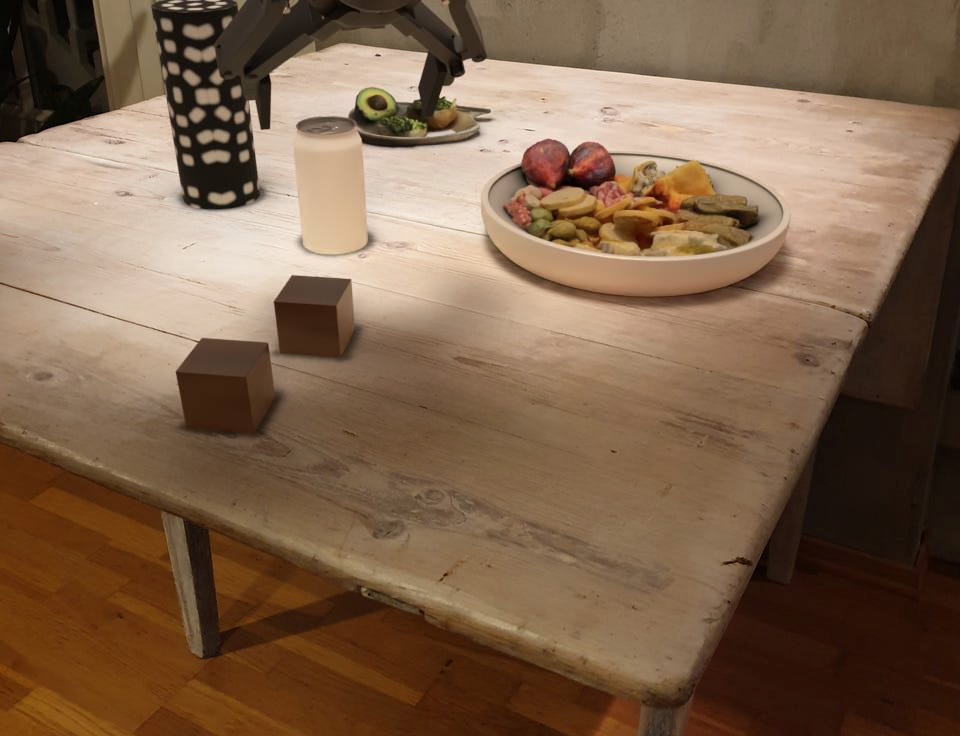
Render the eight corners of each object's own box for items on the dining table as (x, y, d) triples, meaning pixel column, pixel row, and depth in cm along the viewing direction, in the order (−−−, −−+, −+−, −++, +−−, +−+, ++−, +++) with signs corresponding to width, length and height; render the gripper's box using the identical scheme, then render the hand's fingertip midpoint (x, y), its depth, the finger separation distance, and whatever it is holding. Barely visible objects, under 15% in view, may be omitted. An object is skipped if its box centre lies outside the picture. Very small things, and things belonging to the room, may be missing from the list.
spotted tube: (225, 218, 103) (196, 15, 91) (167, 203, 106) (132, 6, 95) (275, 195, 109) (254, 2, 97) (219, 182, 112) (193, -6, 101)
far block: (297, 329, 82) (291, 274, 79) (355, 333, 81) (351, 278, 79) (280, 357, 78) (273, 301, 75) (340, 362, 77) (336, 305, 75)
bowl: (838, 248, 98) (856, 172, 93) (657, 345, 80) (669, 257, 76) (608, 175, 115) (614, 108, 111) (419, 242, 98) (417, 165, 93)
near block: (211, 396, 73) (201, 337, 70) (275, 401, 72) (268, 342, 70) (186, 432, 69) (175, 371, 66) (254, 438, 68) (246, 376, 65)
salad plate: (477, 107, 139) (477, 74, 137) (508, 144, 125) (509, 108, 122) (343, 114, 136) (340, 80, 133) (359, 153, 121) (357, 116, 119)
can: (381, 245, 97) (375, 124, 90) (330, 264, 93) (319, 138, 86) (340, 228, 101) (332, 110, 94) (290, 245, 97) (277, 123, 90)
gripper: (176, -16, 56) (198, 163, 76) (577, -32, 62) (498, 137, 82) (156, -129, 57) (182, 77, 77) (551, -134, 63) (480, 57, 84)
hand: (345, 108), depth 80 cm, fingers open, 13 cm apart
